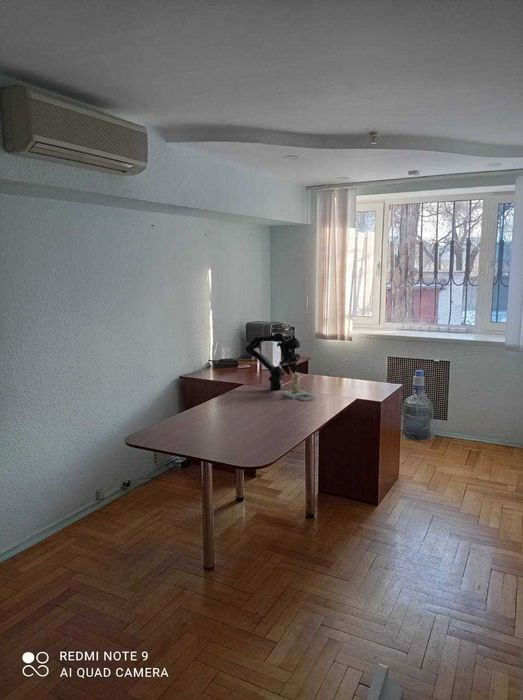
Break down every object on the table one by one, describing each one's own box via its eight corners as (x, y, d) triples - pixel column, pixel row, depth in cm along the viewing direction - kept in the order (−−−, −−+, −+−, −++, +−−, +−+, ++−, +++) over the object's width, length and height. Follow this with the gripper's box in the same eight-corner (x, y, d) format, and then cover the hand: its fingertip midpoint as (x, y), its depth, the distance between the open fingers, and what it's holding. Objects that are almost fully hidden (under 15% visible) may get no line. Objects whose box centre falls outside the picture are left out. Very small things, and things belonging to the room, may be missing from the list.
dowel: (290, 394, 327) (290, 374, 325) (293, 393, 332) (293, 373, 330) (297, 395, 325) (298, 375, 323) (300, 393, 330) (300, 373, 328)
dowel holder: (297, 398, 320) (297, 395, 320) (307, 397, 324) (307, 394, 324) (304, 401, 314) (304, 397, 314) (314, 399, 318) (314, 396, 318)
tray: (282, 395, 330) (282, 391, 330) (297, 393, 336) (297, 389, 336) (293, 398, 320) (293, 394, 320) (308, 396, 327) (308, 392, 326)
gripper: (301, 346, 335) (308, 369, 334) (290, 350, 352) (296, 372, 352) (286, 350, 331) (293, 374, 330) (276, 354, 348) (282, 376, 348)
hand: (291, 374), depth 340 cm, fingers open, 9 cm apart
